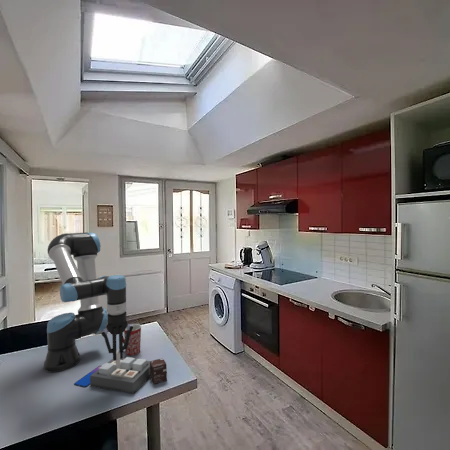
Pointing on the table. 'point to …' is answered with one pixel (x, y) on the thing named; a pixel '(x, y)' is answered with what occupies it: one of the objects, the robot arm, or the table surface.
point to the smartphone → (86, 379)
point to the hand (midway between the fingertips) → (118, 366)
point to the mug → (133, 340)
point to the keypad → (120, 380)
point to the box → (158, 371)
